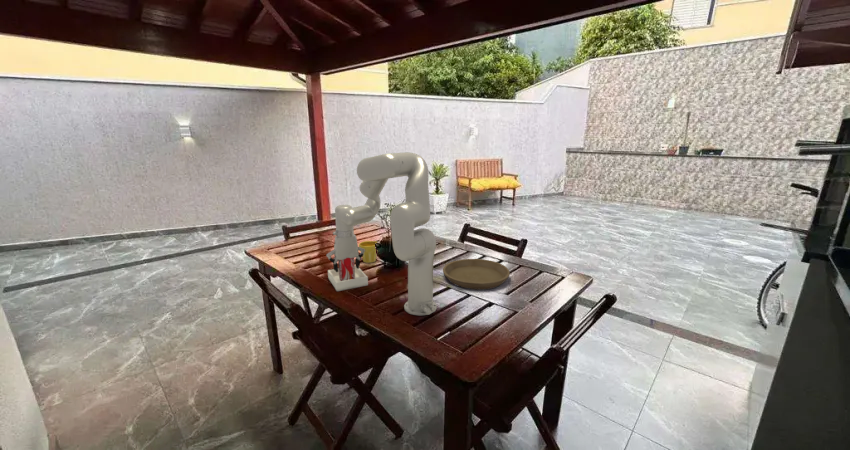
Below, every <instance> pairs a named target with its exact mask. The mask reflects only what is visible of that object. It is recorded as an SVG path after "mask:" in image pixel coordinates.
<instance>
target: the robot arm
mask: <svg viewBox="0 0 850 450" xmlns="http://www.w3.org/2000/svg"><path fill="white" fill-rule="evenodd" d="M356 167H357V168H356V175H357V177H358V178H359V180H361V183H360V185H359V191H360V193H361V194H362V195H363V196H364V197H366V198H367V199H366V202H365V204H364V205H358V206H355V207H352V205H350V204H341V205H340V204H339V205H336V206H335V208H334V215H335V231H333V232H332V235H333V236H335V237H334V242H333V243H334V244H333V249H332V250H331V251H329V252H328V253H326V257H327V258H328V261H330V262H331V263H333V264H332V265H333V269H334V270H335V271H336V272H338V269H339V265H338V260H343V259H346V257H350V258H354V264H355V266H356V267H357V268H358V269H359V268H360V266H361V258H362V256H363V254H364V252H365V249H363V248H360V247H359V243H358V239H357V235H356V234H355V232H354V230H355V228H354V226H359V225H362V224H365V223H369V222H371V221H373V219H375V217H376V216H377V214H378V212H379V211H380V208H381V197H380V194H381V193H382V191H383V189H384V187H385V185H386V184H387V182H388V180H389V179H394V178H401V177H407V181H406V182H405V189H404V193H405V202H401V203H399V204H397V205H395V206H394V207H393V209H392V210H391V213H390V231H391V232H390V233H391V240H392V241H391V242H392V250H393V252H394V254H395V256H396V258H397V259H399V260H400V261H402V262H408V263H407V294H408V295H407V296H408V297H407V301H406V302H405V303H404V305H403V307H404V311H405V312H406V313H407V314H410V315H412V316H422V317H423V316H428V315H431V314H432V313H435V312H436V310H437V309H438V308H437V307H438V306H437V303H436V302H435V301H434V262H435V261H434V257H435V253H436V247H437V239H436V236H435V234H434V232H433V231H432V230H431V229H429V228H428V229H427V228H418V227H421V226H423V225H427V223H429V221H430V218H431V204H430V192H429V191H430V189H429V177H430V176H429V167H428V164H427V162H426V160H425V159H424V158H423V157H422V156H421V155H420V154H418V153H414V152H407V151H406V152H397V153H396V152H394V153H393V152H392V153H383V154H378V155H374V156H370V157H366V158H362V159H361V160H360V161H359V162H358V164H357V166H356ZM416 228H418V229H416ZM333 255H334V257H333V258H332V256H333Z"/></svg>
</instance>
